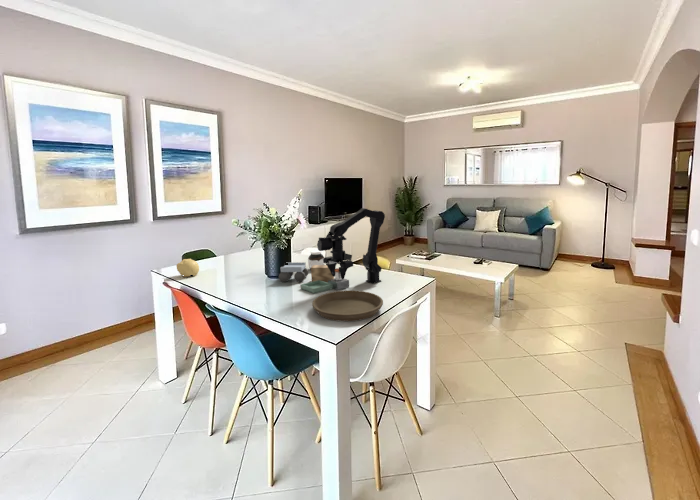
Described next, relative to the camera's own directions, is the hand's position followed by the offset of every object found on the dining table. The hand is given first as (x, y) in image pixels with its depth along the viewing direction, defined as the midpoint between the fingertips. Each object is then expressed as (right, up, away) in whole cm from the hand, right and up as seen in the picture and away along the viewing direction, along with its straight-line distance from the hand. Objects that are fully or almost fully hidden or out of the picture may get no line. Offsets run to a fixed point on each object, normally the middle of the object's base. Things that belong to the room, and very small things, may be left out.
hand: (338, 277), depth 196 cm
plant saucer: (+5, -12, -33) cm, 36 cm away
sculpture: (-94, -2, +34) cm, 100 cm away
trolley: (-26, -2, +19) cm, 33 cm away
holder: (0, -5, +1) cm, 5 cm away
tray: (-11, -6, -1) cm, 13 cm away
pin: (0, -5, +1) cm, 5 cm away
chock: (-9, -3, +13) cm, 16 cm away
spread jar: (-15, +2, +41) cm, 44 cm away
